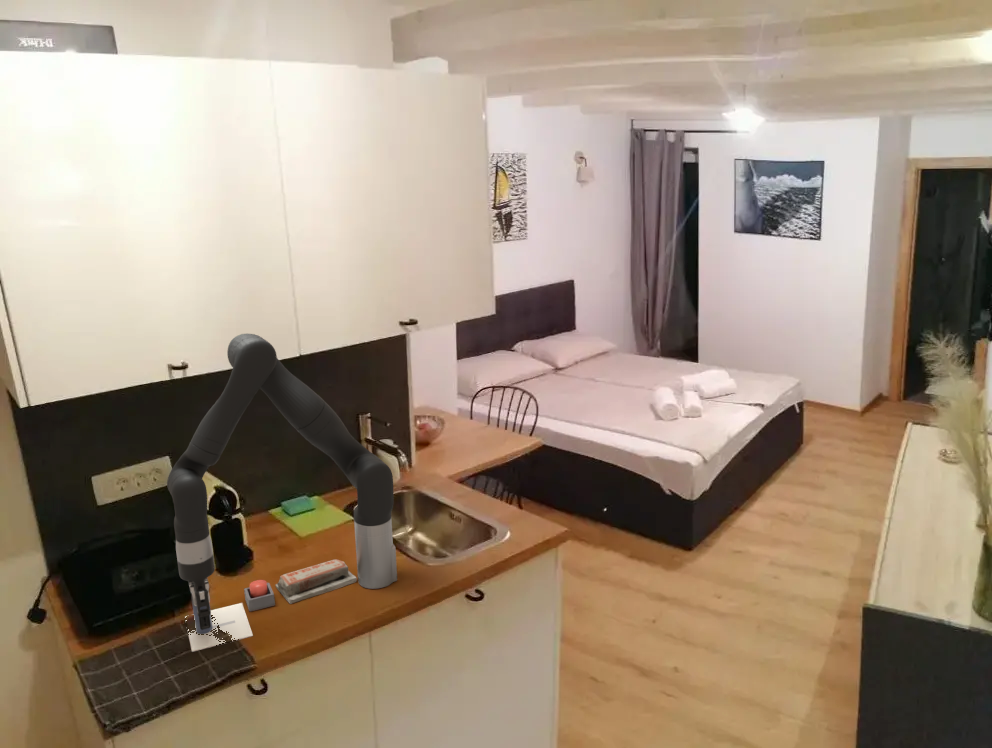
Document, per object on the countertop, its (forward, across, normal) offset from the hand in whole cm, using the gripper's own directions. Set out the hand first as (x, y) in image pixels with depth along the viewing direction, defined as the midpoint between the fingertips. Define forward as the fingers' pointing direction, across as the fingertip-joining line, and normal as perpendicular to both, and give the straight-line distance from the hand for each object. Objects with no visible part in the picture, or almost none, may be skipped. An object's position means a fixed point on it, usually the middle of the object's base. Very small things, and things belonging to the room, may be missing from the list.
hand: (203, 618), depth 179 cm
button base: (+3, +6, -14) cm, 15 cm away
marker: (+3, 0, 0) cm, 3 cm away
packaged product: (+4, +8, -28) cm, 29 cm away
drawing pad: (+3, 0, -3) cm, 4 cm away
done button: (+1, +6, -13) cm, 15 cm away
